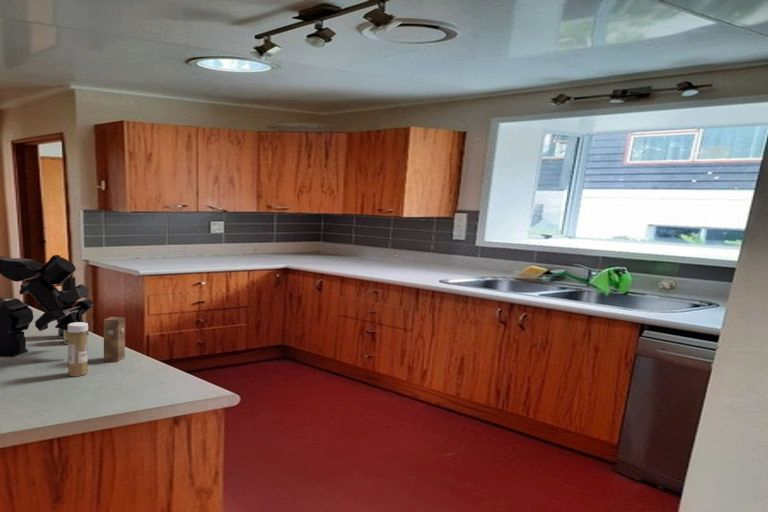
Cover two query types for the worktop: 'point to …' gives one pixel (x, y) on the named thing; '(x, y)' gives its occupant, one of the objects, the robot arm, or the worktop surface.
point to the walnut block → (114, 339)
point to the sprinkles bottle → (77, 348)
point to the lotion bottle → (67, 286)
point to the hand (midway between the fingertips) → (86, 335)
